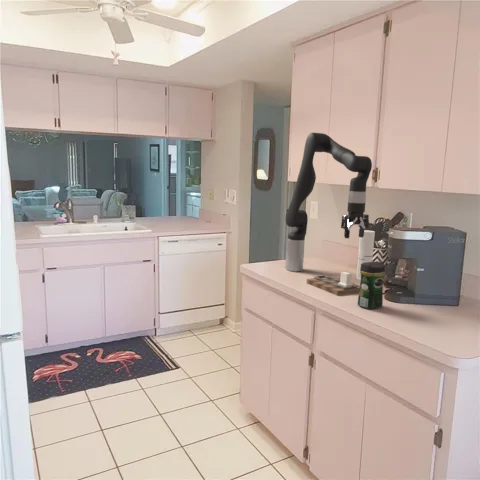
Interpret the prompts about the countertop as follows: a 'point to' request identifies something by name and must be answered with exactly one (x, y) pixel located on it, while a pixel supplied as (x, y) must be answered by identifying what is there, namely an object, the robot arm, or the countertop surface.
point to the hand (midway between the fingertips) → (353, 237)
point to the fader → (345, 279)
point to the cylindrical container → (365, 250)
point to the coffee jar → (371, 285)
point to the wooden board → (332, 285)
